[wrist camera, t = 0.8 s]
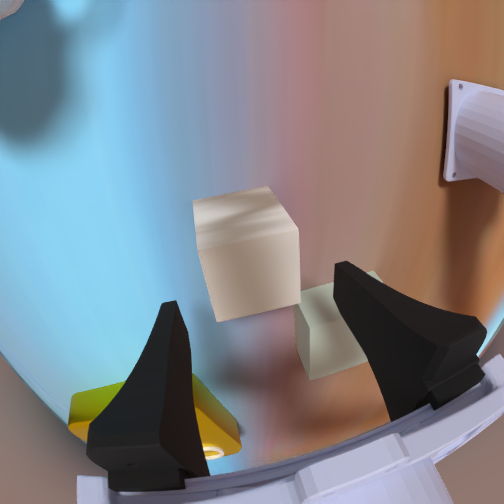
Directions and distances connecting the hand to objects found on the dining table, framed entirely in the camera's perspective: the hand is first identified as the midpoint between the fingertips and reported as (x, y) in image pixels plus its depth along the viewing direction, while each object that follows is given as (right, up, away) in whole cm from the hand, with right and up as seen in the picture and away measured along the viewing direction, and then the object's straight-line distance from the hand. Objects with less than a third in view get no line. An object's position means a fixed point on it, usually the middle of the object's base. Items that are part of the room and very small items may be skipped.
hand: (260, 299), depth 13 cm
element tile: (-11, -16, +16) cm, 25 cm away
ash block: (-1, +4, +6) cm, 7 cm away
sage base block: (+7, -3, +12) cm, 14 cm away
